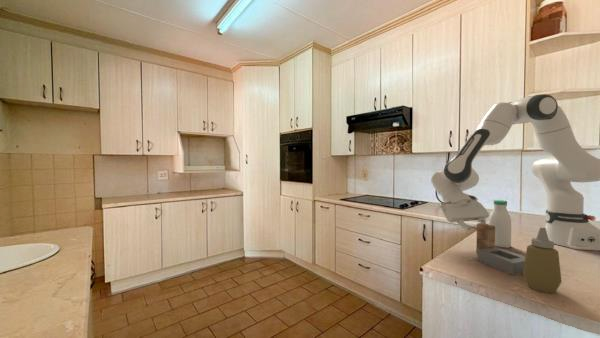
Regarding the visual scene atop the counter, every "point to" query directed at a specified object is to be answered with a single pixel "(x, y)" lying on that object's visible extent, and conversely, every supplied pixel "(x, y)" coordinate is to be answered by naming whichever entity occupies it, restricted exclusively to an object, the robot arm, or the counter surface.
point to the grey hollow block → (502, 260)
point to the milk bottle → (501, 224)
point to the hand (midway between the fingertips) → (477, 229)
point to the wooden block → (485, 236)
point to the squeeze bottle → (542, 264)
